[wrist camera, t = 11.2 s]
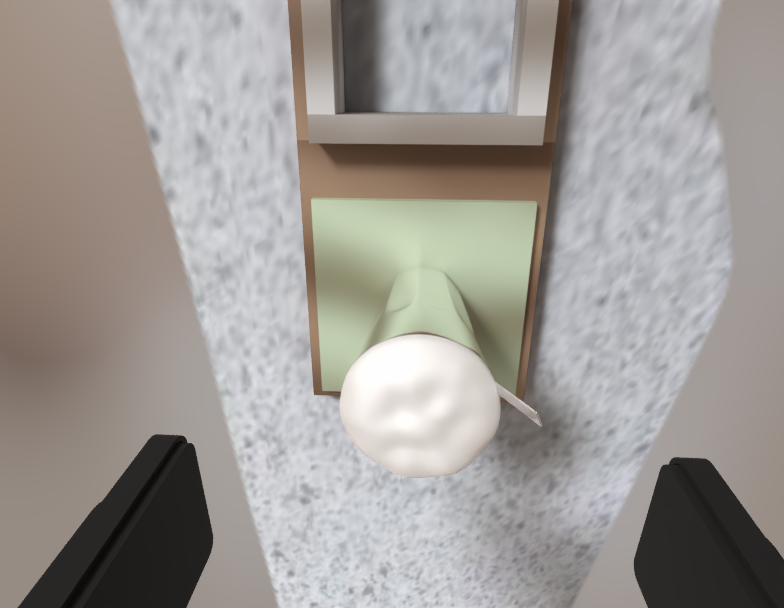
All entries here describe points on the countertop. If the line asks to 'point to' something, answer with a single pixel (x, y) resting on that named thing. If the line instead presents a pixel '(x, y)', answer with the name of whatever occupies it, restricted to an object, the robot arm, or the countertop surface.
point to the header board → (425, 193)
